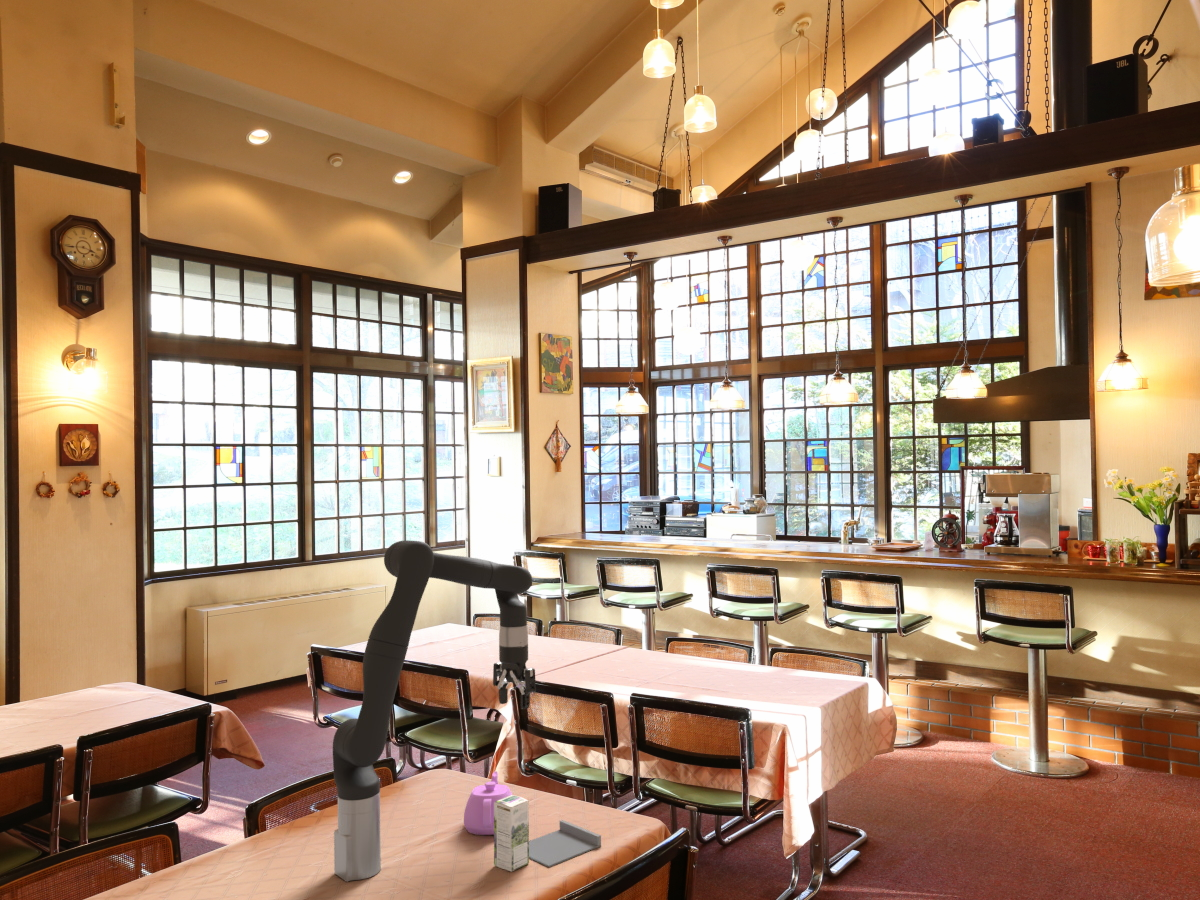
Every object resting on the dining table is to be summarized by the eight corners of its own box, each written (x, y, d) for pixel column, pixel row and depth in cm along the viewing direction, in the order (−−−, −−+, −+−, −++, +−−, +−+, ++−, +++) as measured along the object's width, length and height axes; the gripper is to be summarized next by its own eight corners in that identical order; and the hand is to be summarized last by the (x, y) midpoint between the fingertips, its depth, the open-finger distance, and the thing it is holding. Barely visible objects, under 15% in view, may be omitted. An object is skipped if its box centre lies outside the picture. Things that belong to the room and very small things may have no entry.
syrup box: (511, 857, 198) (510, 793, 199) (530, 864, 195) (529, 798, 195) (493, 866, 194) (492, 800, 195) (512, 873, 190) (511, 806, 191)
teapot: (520, 811, 227) (520, 768, 228) (513, 842, 207) (513, 795, 208) (470, 812, 227) (469, 769, 228) (458, 843, 207) (457, 796, 208)
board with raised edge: (548, 867, 193) (548, 856, 193) (511, 849, 203) (510, 838, 203) (601, 846, 203) (600, 835, 204) (562, 830, 214) (562, 819, 214)
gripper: (485, 642, 226) (485, 704, 225) (520, 648, 216) (521, 713, 216) (506, 638, 232) (507, 699, 231) (542, 644, 222) (543, 707, 221)
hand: (514, 706), depth 223 cm, fingers open, 8 cm apart
